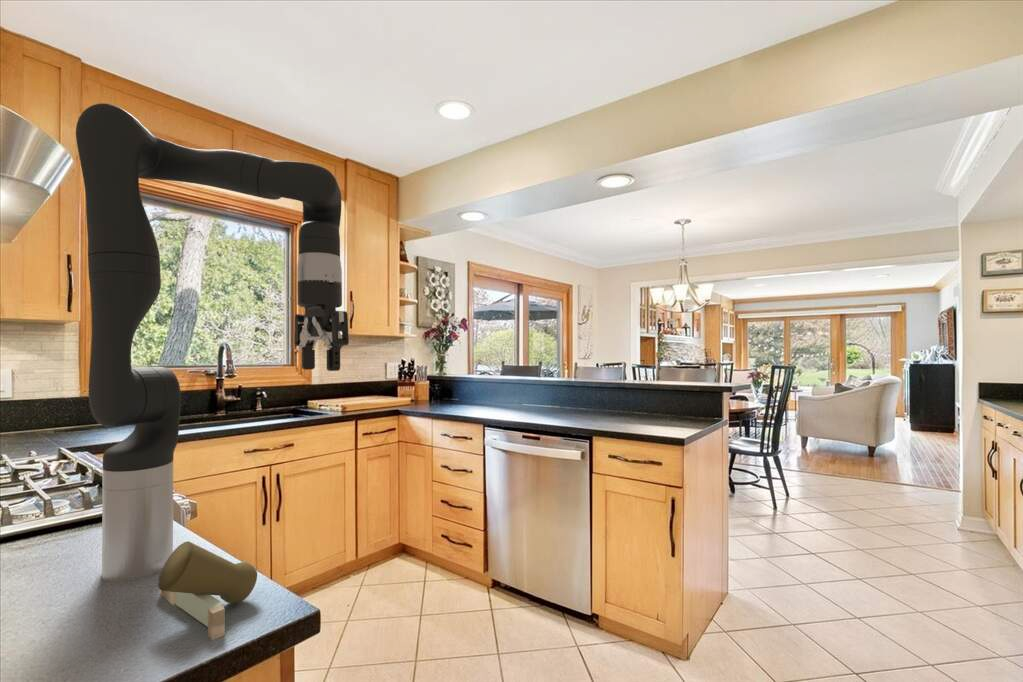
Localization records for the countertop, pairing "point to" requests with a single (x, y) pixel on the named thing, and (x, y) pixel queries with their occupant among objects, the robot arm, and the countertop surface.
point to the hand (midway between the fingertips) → (320, 370)
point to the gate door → (197, 605)
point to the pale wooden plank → (214, 616)
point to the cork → (206, 574)
